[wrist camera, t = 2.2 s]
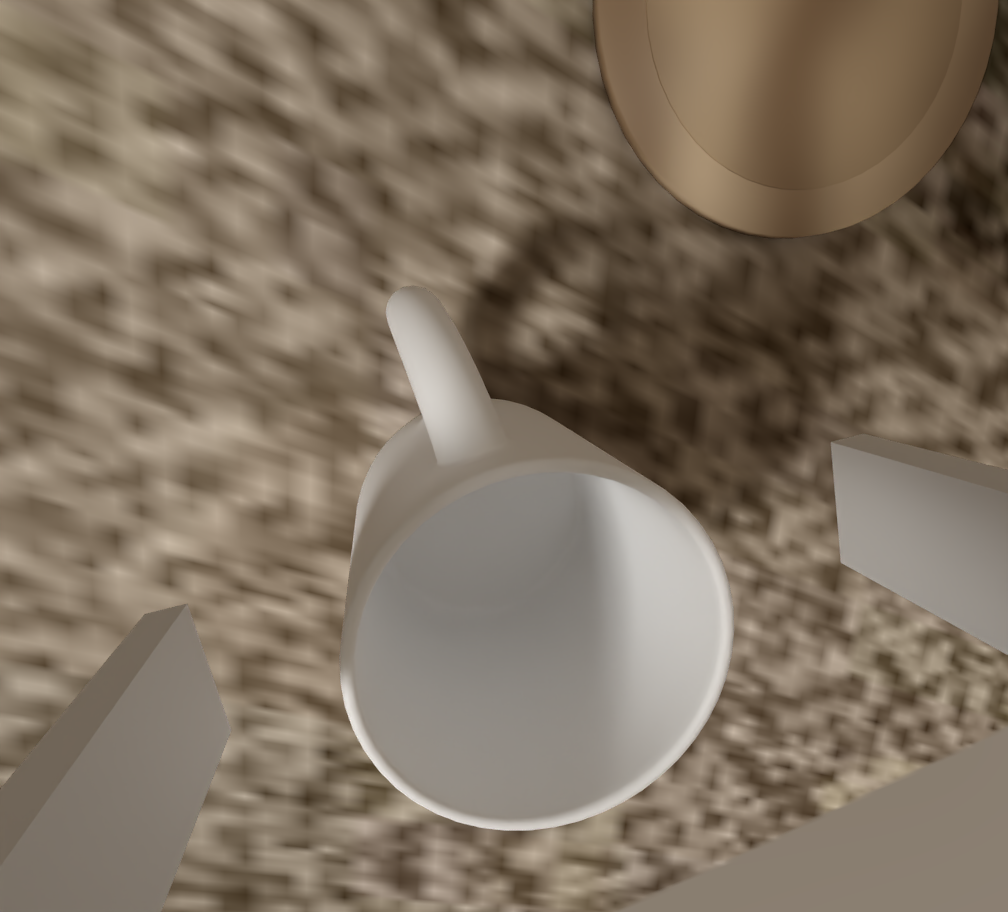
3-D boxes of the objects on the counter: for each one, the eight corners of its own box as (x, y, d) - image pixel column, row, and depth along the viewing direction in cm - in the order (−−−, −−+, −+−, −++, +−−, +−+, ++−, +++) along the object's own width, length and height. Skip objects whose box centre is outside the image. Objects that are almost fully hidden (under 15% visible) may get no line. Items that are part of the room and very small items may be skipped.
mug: (277, 331, 21) (184, 348, 11) (522, 252, 22) (640, 203, 12) (404, 651, 24) (421, 890, 14) (614, 571, 25) (769, 745, 15)
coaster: (629, 274, 22) (637, 273, 22) (555, -220, 19) (562, -239, 18) (987, 198, 24) (1004, 195, 24) (979, -265, 21) (999, -285, 20)
